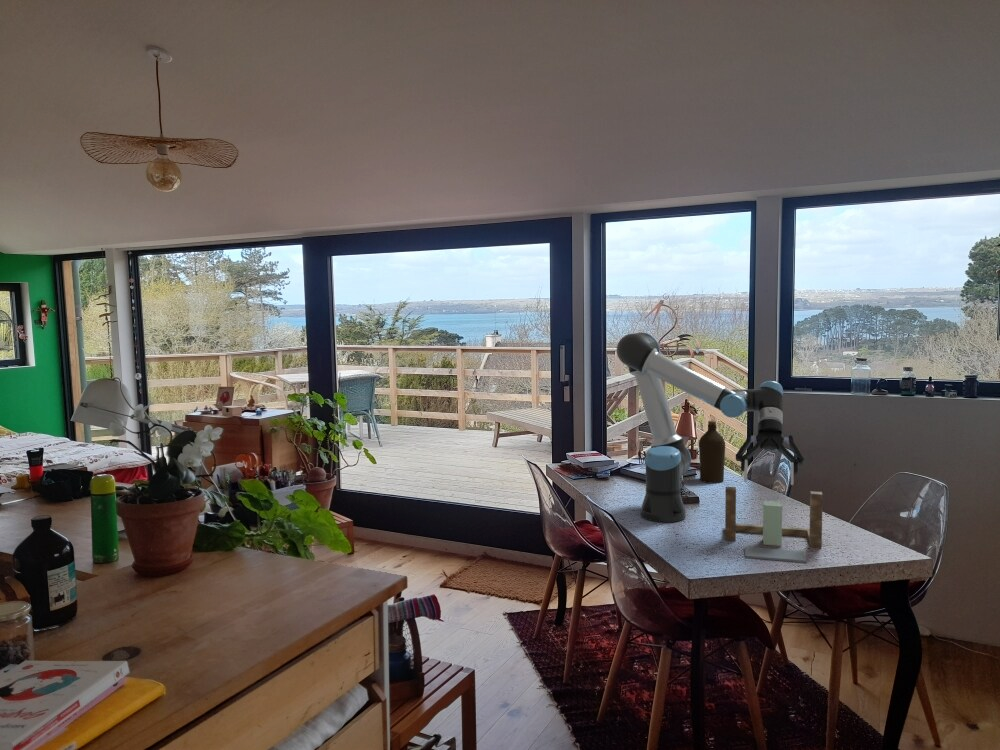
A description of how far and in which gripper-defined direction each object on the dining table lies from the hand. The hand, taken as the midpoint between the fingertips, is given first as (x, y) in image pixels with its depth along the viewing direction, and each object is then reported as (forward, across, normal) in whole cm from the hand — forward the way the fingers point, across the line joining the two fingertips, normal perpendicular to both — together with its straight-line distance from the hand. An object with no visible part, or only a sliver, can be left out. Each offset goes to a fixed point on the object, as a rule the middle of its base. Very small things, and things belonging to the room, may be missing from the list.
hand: (768, 481), depth 214 cm
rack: (+15, +1, +8) cm, 17 cm away
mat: (+26, +2, -4) cm, 26 cm away
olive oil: (-32, -24, +63) cm, 74 cm away
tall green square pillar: (+18, +1, +5) cm, 19 cm away
